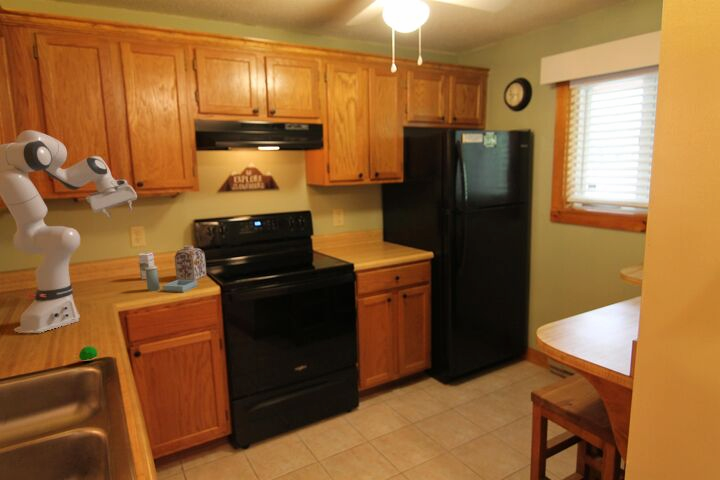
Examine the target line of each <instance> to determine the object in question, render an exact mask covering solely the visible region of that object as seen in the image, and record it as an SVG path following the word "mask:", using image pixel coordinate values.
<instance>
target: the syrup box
mask: <svg viewBox="0 0 720 480" xmlns="http://www.w3.org/2000/svg"><path fill="white" fill-rule="evenodd" d="M137 258H138V264H139V273H140V280H142V281H143V280H144V281H145V280H146V281H147V279H146V271H145V268H146V267H150V266H155V259H154V253H153V252H141V253H139V254H138V255H137Z"/></svg>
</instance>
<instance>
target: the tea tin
mask: <svg viewBox="0 0 720 480" xmlns="http://www.w3.org/2000/svg"><path fill="white" fill-rule="evenodd" d="M145 271H146V279H147V280H146V287H147V291H148V292H157V291H159V290H160V289H161V288H160V279H159V272H158V265H154V266H150V267H146V268H145Z"/></svg>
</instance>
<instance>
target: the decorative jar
mask: <svg viewBox="0 0 720 480" xmlns="http://www.w3.org/2000/svg"><path fill="white" fill-rule="evenodd" d="M174 264H175V265H174V266H175V274H176V275H175V276H176V280H197V281H198V280H199V279H201V278H204V277H206V276H207V266H206V265H207V263H206V256H205V252H204V250H202V249H201V248H198V247H194V246H193V245H191V244H190V245H184V247H183V248H181V249H179V250H177V252H176V253H175V255H174Z"/></svg>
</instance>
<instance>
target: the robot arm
mask: <svg viewBox="0 0 720 480" xmlns="http://www.w3.org/2000/svg"><path fill="white" fill-rule="evenodd" d="M67 157H68V150H67V148H66V146H65V145H64V143H63V142H61V141H60V140H59V139H57V138H55V137H52V136H50V135H48V134H45V133H43V132H40V131H37V130H33V129H29V130H28V129H27V130H24V131H21V132H20V133H19V134H18V136H17V137H16V142H8V143H3V144H0V197H1V200H2V201H3V202H4V204H5V206H6V207H7V209H8V210H9V212H10V214H11V216H12V218H13V220H14V222H15V224H16V232H14V234H13V237H12V243H13V246H14V247H15V249H16V250H17V251H19V252H22V253H26V254H32V255H36V254H37V255H43V259H42V260H43V261H42V264H40V265H39V266H37V267H36V269H35V271H34V272H35V273H34V274H35V280H36V285H37V289H36V292H33V291H32V292H28V294H27V297H28V298H30V299H31V298H34V300H33V301H32V303H31V304H29V306H28V307H27V308H26V309H25V310H24V311H23V312H22V313H21V315H20V325H19V326H17V327H14V329H13V332H14V331H15V332H14V333H16V332H18V333H17V334H19V333H39V334H42V333H41V332H43V333H45V332H44V331H47V330H50V331H52V330H51V329H53V330H55V329H54V328H56V329H59V328H62V327H64V326H68V325H71V323H72V324H74V323H77V322H80V318H81V315H80V313H79V311H78V309H77V307H76V304H75V303H76V302H75V301H74V297H73V293H74V290H73V284H72V283H71V278H70V270H69V268H70V267H69V266H70V261H71V259H72V255H73V254H74V252H75V251H77V249H79V247H80V245H81V240H82V239H81V235H80V233H79V231H78V230H76V229H75V228H73V227H69V226H63V225H54V226H52V225H50V226H49V225H47V224H46V223H45V221H44V218H45V217H46V215H47V214H48V207H47V204H46V203H45V201H44V199H43V198H42V197H41V195H40V193H39V191H38V190H37V188H36V186H35V185H34V183H33V182H32V180H31V179H30V178H29V173H31V172H42V171H43V172H45V173H46V174H47V175H49V176H50V177H51V178H53V179H54V180H57V181H58V182H59V183H61V185H63V186H64V187H65V188H67V189H69V190H72V191H77V190H80V188H82V187H83V186H85V185H87V184H88V183H91V182H92V181H93V182H94V186H95V188H96V190H97V191H95V192H92V193H88V194H87V195H86V197H85V200H86V202H87V203H88V204H90V207H91V210H92V212H93V213H95V214H96V213H100V212H102V213H103V214H104V215H106V216H107V218H113V216H112V214H111V212H107V210H109V209H112V208H115V207H118V206H121V205H123V204H126V203H127V205H129V206H127V209H128V212H129V211H132V210H133V207H132V203H133V201H136V200H137V199H138V195H137V193H136V191H135V189H134V188H133V186H131V185H130V184H128V181H127V180H126V179H115V178H114V177H113V176H112V175H113V174H112V173H111V170H110V168H109V166H108V164H107V163H106V162H105V159H103V158H102V157H100V156H98V155H93V156H89V157H86V158H83V159H82V160H80V161H79V162H77V163H75V164H73V165H72V166H69V167H66V168H62V167H61V166H62V165H64V163H66V161H67ZM61 326H62V327H61ZM58 327H59V328H58ZM47 332H48V331H47Z"/></svg>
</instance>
